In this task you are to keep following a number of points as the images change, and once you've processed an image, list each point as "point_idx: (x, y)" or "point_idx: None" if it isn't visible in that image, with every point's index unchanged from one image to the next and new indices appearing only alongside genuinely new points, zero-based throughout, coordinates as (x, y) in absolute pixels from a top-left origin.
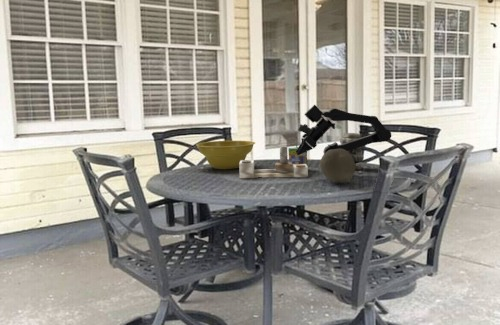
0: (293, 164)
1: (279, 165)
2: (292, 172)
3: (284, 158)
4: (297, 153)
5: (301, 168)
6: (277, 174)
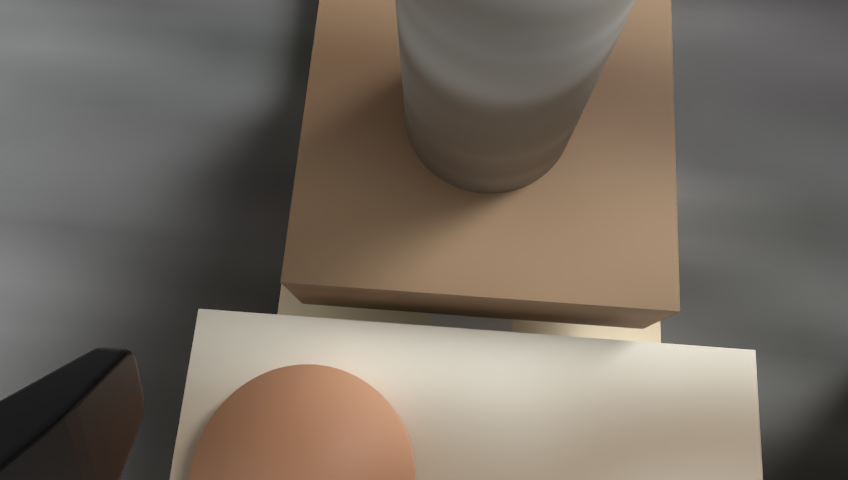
0: (714, 360)
1: (321, 25)
2: (420, 322)
3: (401, 55)
4: (81, 373)
5: (178, 477)
6: None
